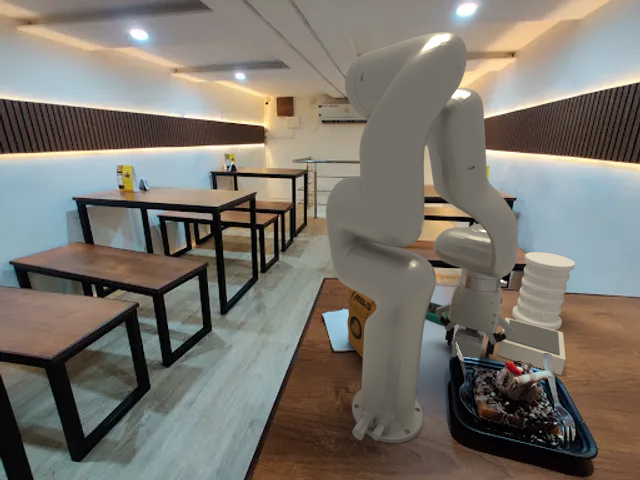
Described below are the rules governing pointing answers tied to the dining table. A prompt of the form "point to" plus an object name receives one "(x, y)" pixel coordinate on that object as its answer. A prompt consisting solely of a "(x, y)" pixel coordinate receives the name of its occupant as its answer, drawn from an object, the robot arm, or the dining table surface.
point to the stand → (533, 345)
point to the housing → (468, 342)
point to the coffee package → (358, 318)
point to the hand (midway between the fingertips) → (468, 348)
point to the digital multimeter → (434, 313)
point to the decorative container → (543, 289)
